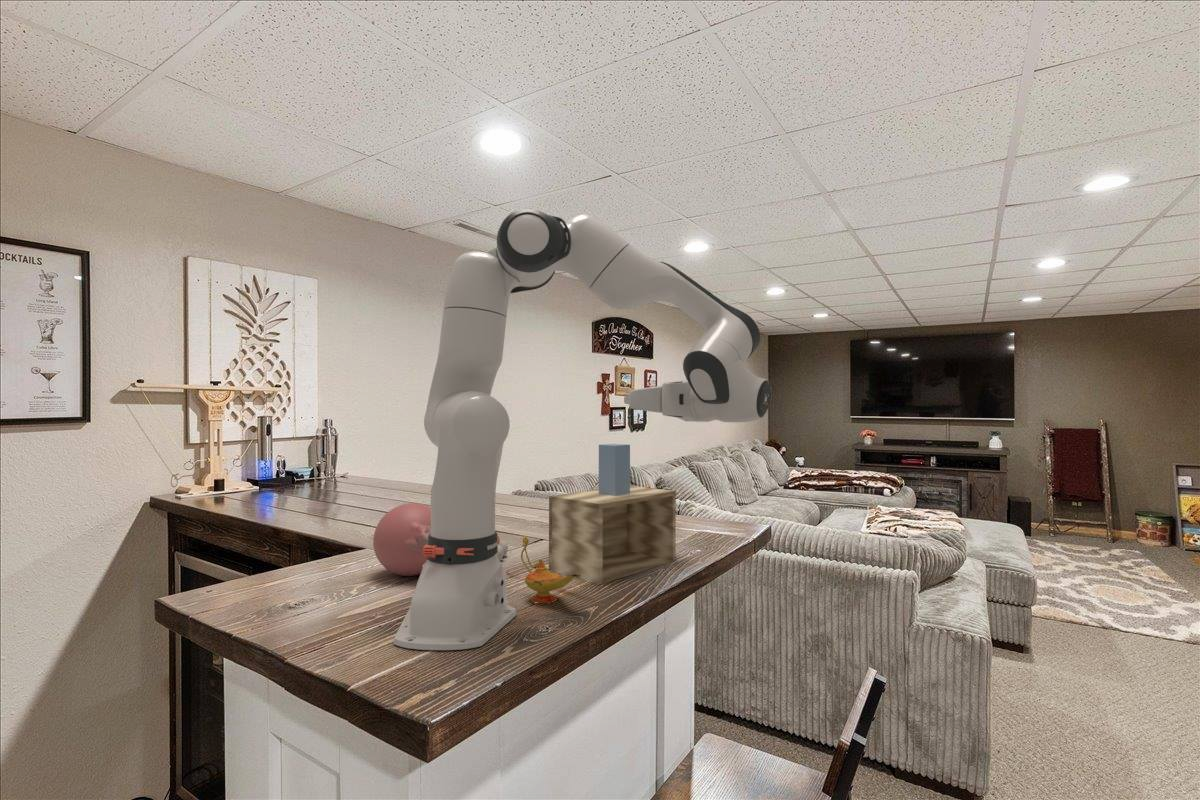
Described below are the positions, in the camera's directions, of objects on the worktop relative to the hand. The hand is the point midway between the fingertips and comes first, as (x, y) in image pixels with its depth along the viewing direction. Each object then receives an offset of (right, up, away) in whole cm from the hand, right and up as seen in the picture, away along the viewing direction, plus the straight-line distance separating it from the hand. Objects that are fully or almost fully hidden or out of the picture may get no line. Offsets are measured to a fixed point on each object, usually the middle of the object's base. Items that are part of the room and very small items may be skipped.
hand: (640, 400), depth 128 cm
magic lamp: (-18, -38, -18) cm, 46 cm away
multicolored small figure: (-36, -38, +13) cm, 54 cm away
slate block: (-6, -21, +4) cm, 22 cm away
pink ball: (-49, -38, -3) cm, 62 cm away
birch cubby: (-5, -38, +4) cm, 39 cm away
